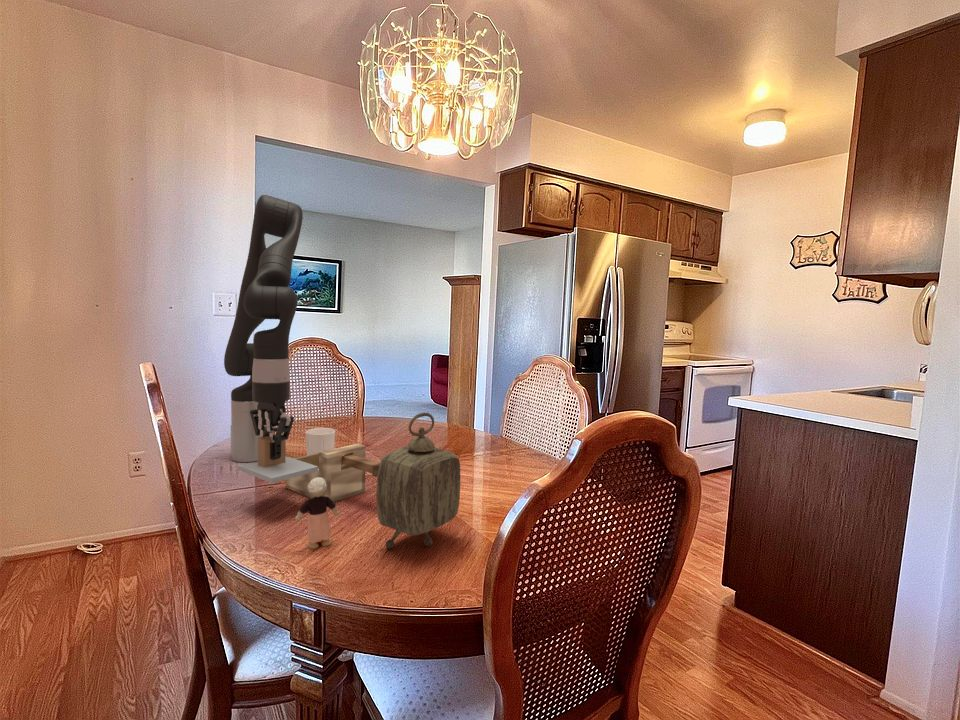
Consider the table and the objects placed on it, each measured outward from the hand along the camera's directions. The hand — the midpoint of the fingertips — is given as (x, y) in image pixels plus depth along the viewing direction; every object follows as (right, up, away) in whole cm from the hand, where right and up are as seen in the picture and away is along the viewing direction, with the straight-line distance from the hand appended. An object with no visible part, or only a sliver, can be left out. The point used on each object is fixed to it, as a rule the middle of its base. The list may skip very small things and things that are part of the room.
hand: (271, 457), depth 112 cm
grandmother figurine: (+15, -13, -17) cm, 26 cm away
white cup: (+1, -9, +31) cm, 32 cm away
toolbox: (+8, -10, +12) cm, 18 cm away
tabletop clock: (+34, -14, -15) cm, 40 cm away
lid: (+2, -3, -1) cm, 4 cm away
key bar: (+19, -3, +3) cm, 20 cm away
